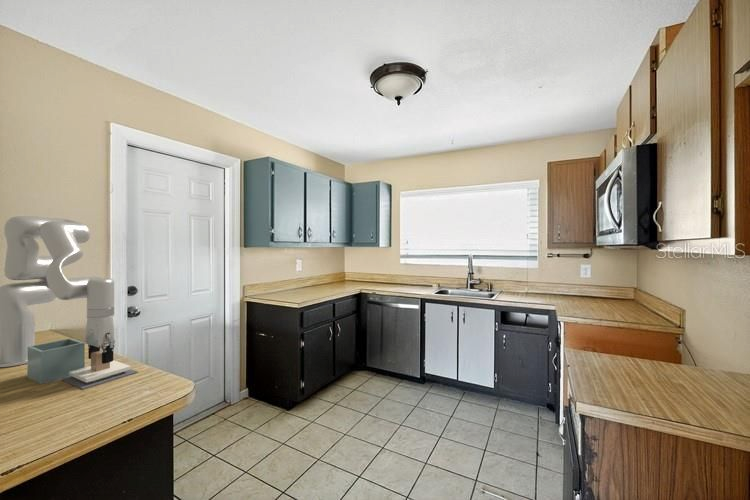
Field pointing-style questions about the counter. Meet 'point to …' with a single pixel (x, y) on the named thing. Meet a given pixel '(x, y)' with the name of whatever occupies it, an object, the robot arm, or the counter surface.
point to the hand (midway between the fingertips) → (100, 360)
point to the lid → (99, 369)
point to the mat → (85, 385)
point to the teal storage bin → (55, 359)
